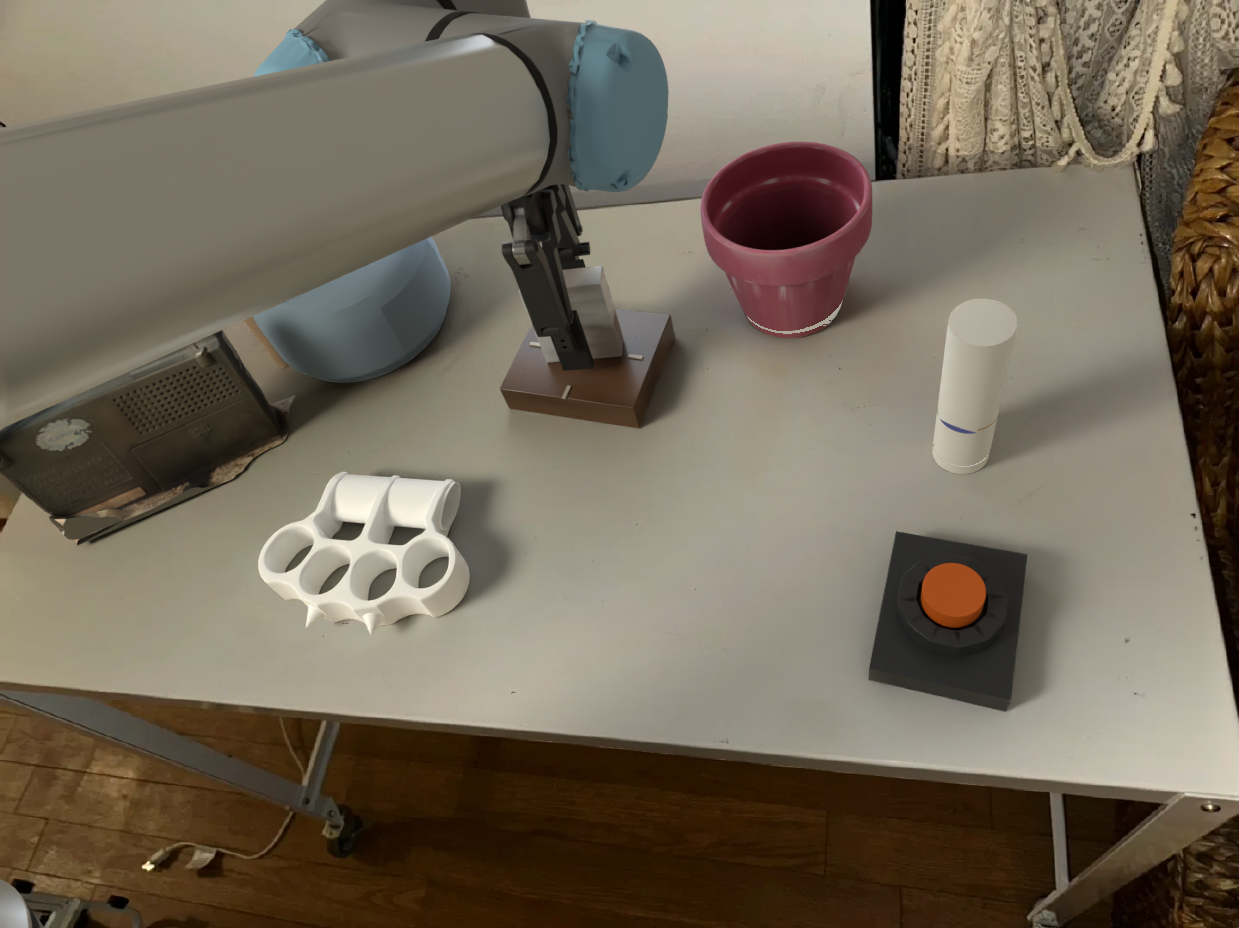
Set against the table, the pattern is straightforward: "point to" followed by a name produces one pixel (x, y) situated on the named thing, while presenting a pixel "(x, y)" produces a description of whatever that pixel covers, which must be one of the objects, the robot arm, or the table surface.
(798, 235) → the flower pot
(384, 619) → the white brass knuckles
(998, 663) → the button box
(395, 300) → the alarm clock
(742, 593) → the table surface
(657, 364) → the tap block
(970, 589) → the button
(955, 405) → the tube
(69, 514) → the radio
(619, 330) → the red-tipped white block
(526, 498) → the table surface
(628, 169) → the robot arm
